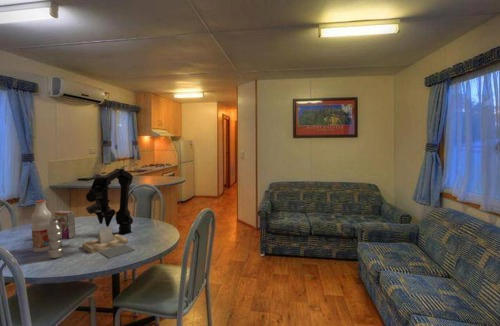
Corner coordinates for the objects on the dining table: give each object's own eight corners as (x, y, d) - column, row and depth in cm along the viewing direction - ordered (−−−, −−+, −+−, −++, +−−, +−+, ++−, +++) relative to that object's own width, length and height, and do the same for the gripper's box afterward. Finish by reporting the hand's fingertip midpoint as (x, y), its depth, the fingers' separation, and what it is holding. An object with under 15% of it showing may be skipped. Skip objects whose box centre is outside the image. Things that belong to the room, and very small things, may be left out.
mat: (124, 245, 163) (124, 244, 163) (134, 250, 155) (134, 249, 155) (99, 252, 152) (99, 251, 152) (108, 258, 144) (108, 257, 144)
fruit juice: (38, 247, 161) (35, 199, 159) (56, 245, 163) (53, 198, 161) (29, 253, 152) (25, 202, 150) (49, 251, 154) (45, 201, 152)
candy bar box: (55, 237, 177) (53, 212, 176) (62, 235, 182) (61, 210, 181) (68, 239, 174) (67, 213, 173) (76, 236, 179) (74, 211, 177)
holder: (117, 237, 175) (117, 234, 175) (128, 242, 166) (127, 238, 166) (82, 247, 160) (82, 243, 160) (91, 253, 151) (91, 248, 151)
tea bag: (112, 244, 165) (112, 227, 164) (101, 247, 159) (100, 230, 159) (110, 242, 167) (109, 226, 166) (98, 246, 162) (97, 229, 161)
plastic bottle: (53, 255, 149) (50, 218, 148) (66, 254, 150) (64, 218, 148) (45, 260, 143) (42, 221, 141) (59, 259, 143) (57, 221, 142)
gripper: (81, 198, 161) (82, 225, 162) (94, 202, 149) (95, 231, 150) (101, 195, 170) (103, 221, 171) (115, 199, 157) (116, 226, 158)
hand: (104, 225), depth 162 cm, fingers open, 9 cm apart
